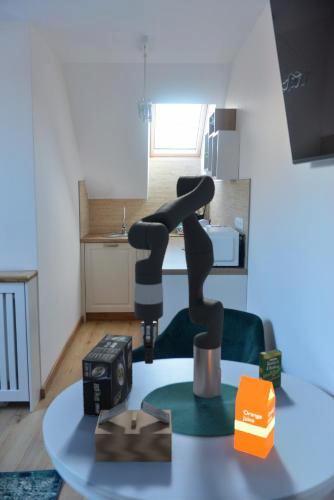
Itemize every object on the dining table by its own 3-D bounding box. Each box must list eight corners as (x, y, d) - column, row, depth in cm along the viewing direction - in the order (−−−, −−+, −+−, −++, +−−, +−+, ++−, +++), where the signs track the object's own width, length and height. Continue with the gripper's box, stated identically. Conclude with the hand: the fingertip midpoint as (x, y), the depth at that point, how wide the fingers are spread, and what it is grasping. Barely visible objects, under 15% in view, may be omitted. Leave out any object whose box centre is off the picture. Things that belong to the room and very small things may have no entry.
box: (113, 419, 137) (112, 361, 134) (82, 415, 139) (81, 358, 136) (133, 385, 159) (133, 335, 156) (107, 383, 161) (106, 333, 158)
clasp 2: (168, 417, 123) (170, 414, 123) (168, 425, 119) (170, 422, 119) (141, 403, 122) (143, 399, 122) (140, 410, 118) (142, 407, 118)
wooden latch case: (170, 435, 128) (170, 404, 127) (171, 461, 116) (171, 427, 115) (101, 435, 128) (100, 404, 126) (95, 462, 116) (94, 428, 114)
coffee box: (262, 390, 156) (263, 354, 154) (257, 386, 158) (258, 351, 156) (281, 386, 159) (282, 351, 157) (276, 383, 161) (277, 348, 159)
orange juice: (243, 435, 128) (246, 369, 125) (273, 444, 124) (276, 376, 121) (233, 449, 122) (235, 380, 119) (265, 459, 117) (267, 388, 114)
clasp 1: (99, 425, 119) (97, 422, 119) (101, 417, 123) (99, 414, 122) (127, 410, 118) (125, 407, 118) (128, 403, 122) (126, 400, 122)
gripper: (163, 306, 109) (163, 373, 112) (163, 292, 122) (162, 352, 125) (132, 306, 109) (133, 373, 111) (135, 292, 122) (136, 352, 125)
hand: (148, 361), depth 118 cm, fingers closed
